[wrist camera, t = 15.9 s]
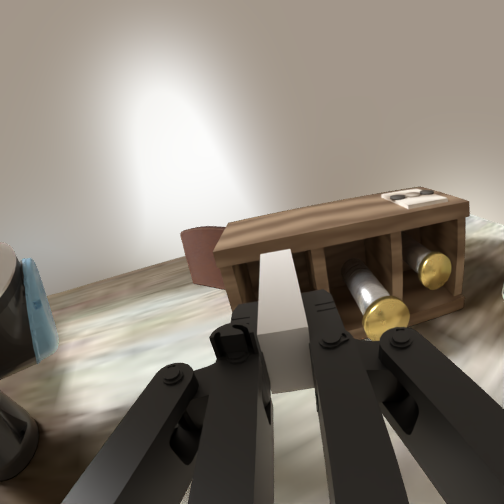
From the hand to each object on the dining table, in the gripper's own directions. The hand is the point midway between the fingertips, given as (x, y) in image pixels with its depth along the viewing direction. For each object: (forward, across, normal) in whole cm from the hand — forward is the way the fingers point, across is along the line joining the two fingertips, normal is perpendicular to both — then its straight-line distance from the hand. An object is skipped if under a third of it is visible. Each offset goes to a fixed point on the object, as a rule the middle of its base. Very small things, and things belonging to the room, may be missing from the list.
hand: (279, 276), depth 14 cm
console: (+23, +10, -19) cm, 31 cm away
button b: (+15, +9, -13) cm, 22 cm away
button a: (+22, +19, -13) cm, 32 cm away
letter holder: (+45, -11, -21) cm, 51 cm away
